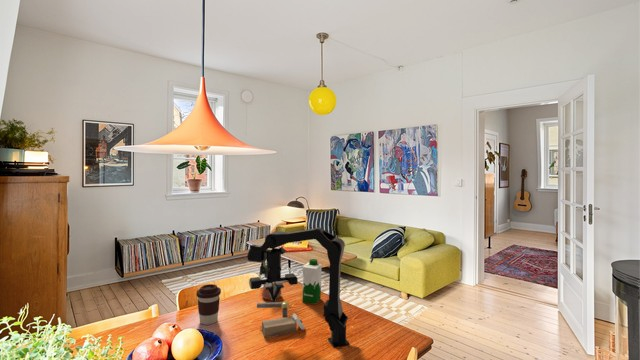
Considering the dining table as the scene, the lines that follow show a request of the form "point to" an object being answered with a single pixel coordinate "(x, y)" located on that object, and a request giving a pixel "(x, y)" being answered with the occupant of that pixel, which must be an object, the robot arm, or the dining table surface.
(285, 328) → the grey lever base
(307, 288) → the milk carton
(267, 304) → the lever
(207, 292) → the coffee cup
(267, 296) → the potted flower
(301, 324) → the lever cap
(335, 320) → the robot arm
